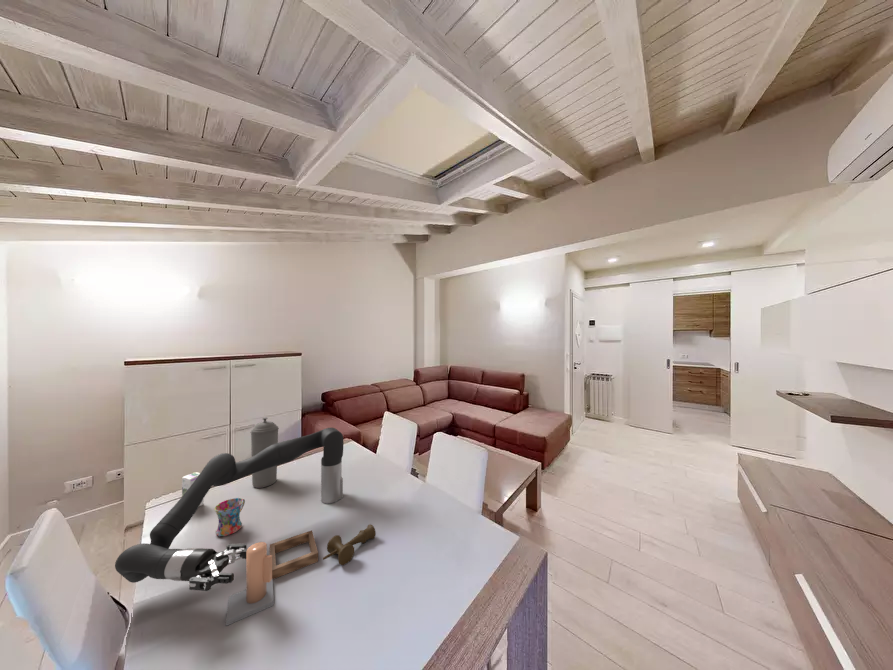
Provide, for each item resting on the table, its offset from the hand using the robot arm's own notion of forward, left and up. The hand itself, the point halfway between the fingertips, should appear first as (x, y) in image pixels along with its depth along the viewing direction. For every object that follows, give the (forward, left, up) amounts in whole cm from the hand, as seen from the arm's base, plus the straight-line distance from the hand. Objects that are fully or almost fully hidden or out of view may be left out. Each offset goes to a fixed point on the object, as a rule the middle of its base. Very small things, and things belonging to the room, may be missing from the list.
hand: (244, 565), depth 83 cm
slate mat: (-2, +1, -11) cm, 11 cm away
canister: (-6, -79, -11) cm, 80 cm away
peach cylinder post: (-3, +1, -10) cm, 10 cm away
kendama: (-31, -4, -12) cm, 33 cm away
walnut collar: (-14, -12, -11) cm, 21 cm away
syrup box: (+22, -72, -11) cm, 76 cm away
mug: (+6, -43, -11) cm, 45 cm away
